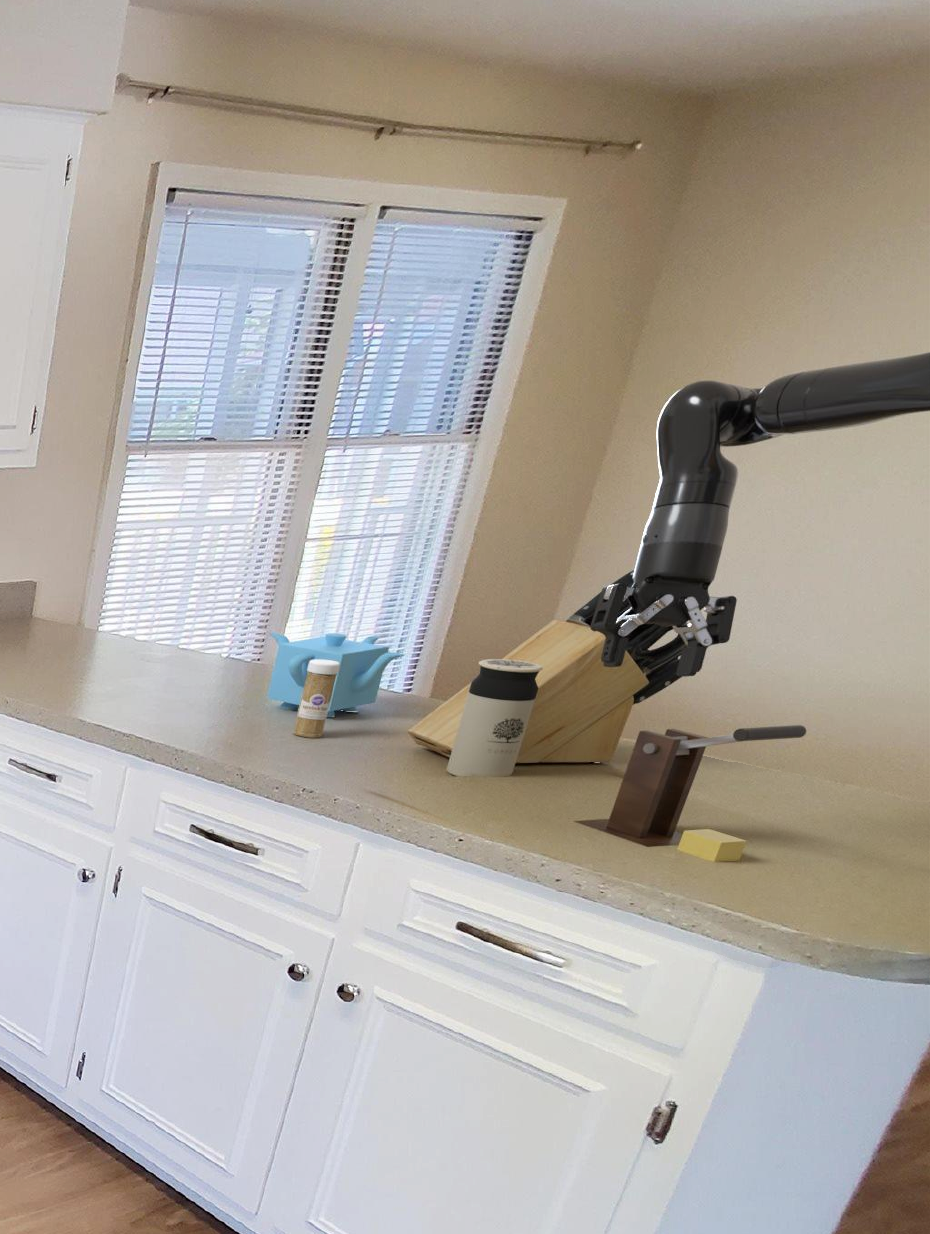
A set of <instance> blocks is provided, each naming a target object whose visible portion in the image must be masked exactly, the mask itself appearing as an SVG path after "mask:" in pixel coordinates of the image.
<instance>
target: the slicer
mask: <svg viewBox="0 0 930 1234" xmlns="http://www.w3.org/2000/svg"><path fill="white" fill-rule="evenodd" d="M682 736H687V738H688V740H695V739H702V738H709V737H708V736H705V735H701V734H696V733H693V732H689V731H684V730H680V729H675V728H667V729H666V730H665V733H664V734H662V733H658V732H654V731H650V730H639V732H638V735H637V738H636V741H635V744H634V746H633V749H632V752H631V755H630V758H629V761H628V764H627V767H626V770H625V773H624V775H623V778H622V780H621V783H620V786H619V789H618V793H617V795H616V798H615V801H614V804H613V807H612V810H611V813H610V816H609V818H601V819H585V820H584V819H583V820H573V822H574V823H577V824H579V825H583V826H585V827H588V828H591V829H594V830H597V831H599V832H603V833H606V834H607V835H608V834H609V835H612V836H614V837H617V838H620V839H623V840H626V841H629V842H631V843H635V844H636V845H639V846H643V847H645V848H651V847H652V848H654V847H668V846H679V843H680V840H681V838H682V835H683V833H681V832H678V831H676V829H677V827H678V824H679V821H680V818H681V815H682V813H683V811H684V808H685V804H686V802H687V799H688V798H689V797H688V796H689V793H690V791H691V788H692V786H693V784H694V780H695V778H696V775H697V773H698V769H699V768H700V767H699V766H700V764H701V762H702V759H703V756H704V753H705V751H706V749H707V746H705V747H698V748H691V749H689V753H690V754H689V755H681V756H676V753H677V750H678V747H679V744H680V742H681V739H678V738H674V737H682Z"/></svg>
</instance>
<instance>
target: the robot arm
mask: <svg viewBox="0 0 930 1234" xmlns="http://www.w3.org/2000/svg"><path fill="white" fill-rule="evenodd" d="M927 412H930V351H929V352H924V353H919V354H913V355H908V356H902V357H896V358H889V359H882V360H874V361H867V362H860V363H853V364H845V365H840V366H833V367H825V368H819V369H814V370H813V369H812V370H807V371H801V372H795V373H792V374H787V375H784V376H781V377H779V378H776V379H774V380H773V381H770V382H769V383H768V384H766V385H765V386H764V387H760V388H757V387H756V388H748V387H744V386H739V385H734V384H732V383H731V384H730V383H727V382H722V381H716V380H698V381H694V382H691V383H689V384H686V385H685V386H683V387H682V388H680V389H678V390H677V391H676V392H675V393H673V395H672V396H671V397H669V399H668V401H667V402H666V403H665V404H664V406H663V408H662V409H661V412H660V414H659V417H658V420H657V424H656V425H657V426H656V445H657V447H656V448H657V462H658V470H659V477H660V478H659V483H658V486H657V490H656V492H655V497H654V501H653V504H652V508H651V512H650V515H649V518H648V520H647V522H646V524H645V527H644V531H643V535H642V538H641V542H640V547H639V550H638V554H637V558H636V562H635V566H634V569H633V570H634V573H633V581H634V584H633V586H632V587H631V588H630V587H627V586H626V584H623V583H621V584H615V585H611V584H609V585H610V586H609V585H605V586H604V587H602V589H601V591H600V592H601V594H600V597H599V601H598V604H597V607H596V610H595V613H594V616H593V619H592V623H591V626H590V628H591V630H592V631H598V632H600V633H602V634H604V635H605V637H606V640H605V644H604V648H603V652H602V656H601V660H602V662H604V663H603V665H604V667H619V666H621V665H622V663H623V659H624V655H625V651H626V647H627V643H628V639H629V638H626V637H625V636H627V635H628V634H629V633H630V632H632V631H633V630H634V629H635V628H637V627H638V626H639V625H642V624H654V623H655V624H658V625H660V626H667V627H669V626H672V627H673V631H674V632H675V633H676V634H677V635H678V634H680V635H681V637H682V639H683V641H684V643H685V645H686V646H687V647H685V648H683V649H682V653H681V656H679V659H680V660H679V664H678V668H677V672H676V675H677V676H683V677H685V678H686V677H694V676H695V675H696V674H697V673H699V672H700V671H701V670H702V668H703V664H704V661H705V657H706V654H707V653H706V652H707V649H708V648H709V647H711V646H713V645H718V644H726V643H728V642H729V640H730V638H731V633H732V627H733V621H734V616H735V611H736V606H737V602H738V601H737V600H738V599H737V597H736V596H735V595H728V596H710V594H709V587H710V586H711V584H712V583H713V582H714V581H715V578H716V574H717V570H718V568H719V567H718V566H719V562H720V559H721V555H722V551H723V546H724V543H725V539H726V536H727V532H728V526H729V514H730V508H731V505H732V502H733V497H734V494H735V490H736V485H737V482H738V477H739V476H738V475H739V469H738V466H737V465H736V464H735V463H734V462H732V461H731V460H729V459H728V458H726V456H724V455H723V453H722V451H721V448H733V447H742V446H748V445H752V444H757V443H761V442H764V441H769V440H772V439H776V438H779V437H782V436H785V435H799V434H807V433H816V432H824V431H834V430H842V429H849V428H854V427H860V426H864V425H865V426H866V425H870V424H874V423H877V422H881V421H885V420H889V419H893V418H896V417H901V416H905V415H911V414H912V415H913V414H919V413H927ZM626 599H628V601H629V603H630V605H631V608H630V609H629V610H628V611H626V612H625V613H624V614H623V615H621V616H620V617H619V618H618V615H619V612H620V608H621V605H622V602H624V601H625V600H626ZM703 609H704V610H703ZM702 610H703V611H704V612H705V613H706V618H705V617H704V614H703V613H702ZM617 618H618V619H617ZM616 621H617V622H616ZM688 621H689V622H688ZM683 677H682V678H683Z"/></svg>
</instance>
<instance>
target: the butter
mask: <svg viewBox="0 0 930 1234" xmlns="http://www.w3.org/2000/svg"><path fill="white" fill-rule="evenodd" d="M682 834H683V835H682V838H681V840H680V843H679V845H677V851H680V852H683V853H686V854H689V855H692V856H695V857H698V858H701V859H704V860H706V861H710V862H713V863H719V862H721V863H722V862H723V863H724V862H736V861H740V860H741V858H742V854H743V852H744V850H745V847H746V845H747V842H748V840H745V839H742V838H739V837H737V836H733V835H729V834H726V833H723V832H720V831H717V830H714V829H710V828H703V829H702V828H701V829H688V830H687V829H686V830H684V831H683V833H682Z"/></svg>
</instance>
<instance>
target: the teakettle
mask: <svg viewBox="0 0 930 1234" xmlns="http://www.w3.org/2000/svg"><path fill="white" fill-rule="evenodd" d="M268 635H270V636H271V637H273V638H274V640H275V641H276V642H277V645H278V647H277V650H276V656H275V660H274V664H273V668H272V669H273V670H272V674H271V678H270V683H269V688H268V692H267V697H266V698H267V699H269V700H273V701H278V702H283V703H282V704H281V705H279V706H278V708H279V709H283V710H287V711H288V710H290V711H294V710H295V711H296V710H298V709H299V704H300V700H301V696H302V692H303V688H304V686H305V682H306V677H307V672H308V671H307V668H308V664H309V661H310V660H315V659H323V660H332V661H336V662H339V663H340V667H339V672H338V674H337V676H336V679H335V683H334V687H333V693H332V697H331V701H330V705H329V709H328V713H327V717H333V716H335V717H336V715H335V714H336V713H335V711H338V710H339V711H340V710H343V711H358V709H357V707H360V706H364V705H369V704H374V703H376V701H377V697H378V692H379V689H380V685H381V681H382V678H383V673H384V671H385V669H386V668H387V666H388V665H389V664H390V663H391V661H393V660H395V659H397V658H401V657H405V656H406V654H405V653H400V652H399V653H398V652H389V649H390V647H389V646H387V645H380V644H375V643H376V642H377V640H379V639H380V636H378V635H372V636H368V637H365V638H364V639H363V640H362V641H356V640H348V639H347V637H348V635H346V634H343V633H337V632H333V633H332V632H329V633H325V634H324V636H319V637H314V638H313V637H312V638H307V639H301V640H294V641H290V640H289V638H288V637H287V636H286V635H284V634H280V633H275V632H269V633H268Z"/></svg>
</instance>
